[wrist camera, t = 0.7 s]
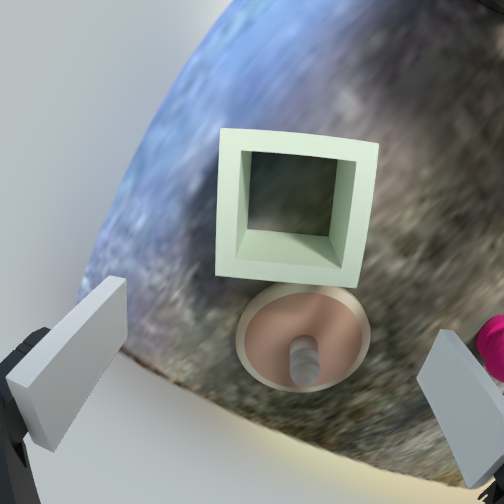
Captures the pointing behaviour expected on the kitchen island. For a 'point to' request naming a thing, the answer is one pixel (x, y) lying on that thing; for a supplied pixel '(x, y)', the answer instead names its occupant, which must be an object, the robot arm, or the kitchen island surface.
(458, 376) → the robot arm
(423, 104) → the kitchen island surface
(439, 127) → the kitchen island surface
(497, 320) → the pepper mill
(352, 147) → the square ring
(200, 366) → the kitchen island surface
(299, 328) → the post stand
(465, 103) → the kitchen island surface
